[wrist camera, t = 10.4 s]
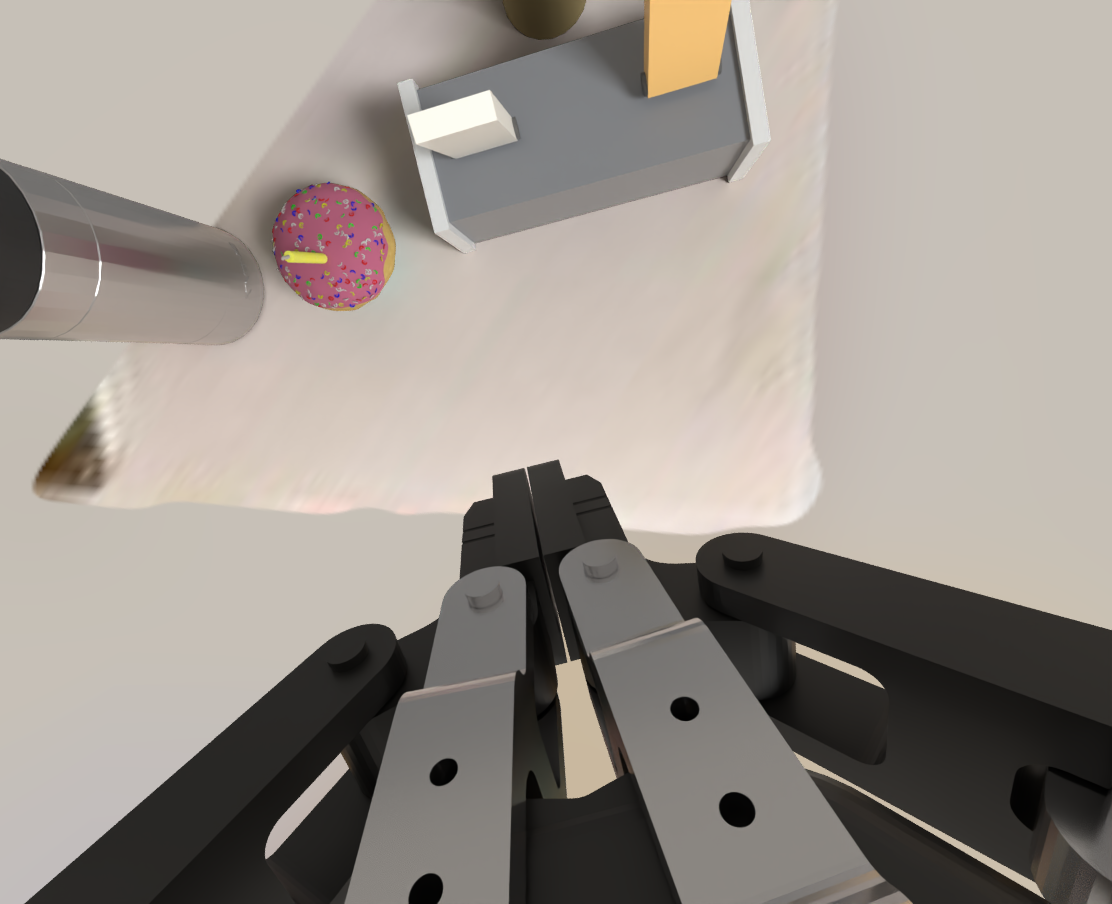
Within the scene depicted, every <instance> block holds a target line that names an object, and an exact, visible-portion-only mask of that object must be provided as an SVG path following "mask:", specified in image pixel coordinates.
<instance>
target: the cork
mask: <svg viewBox="0 0 1112 904" xmlns="http://www.w3.org/2000/svg"><path fill="white" fill-rule="evenodd" d="M585 3H586V0H503V5H504V8H505V11H506V14H507V17H508V18H509V20H510V21H511V23H512V24H513V25H514V27H515V28H516V29H517V30H519V31H520V32H521V33H523V34H524V35H525V36H527V37H531V38H535V39H538V40H542V39H553V38H555V37H557V36H559V35H561V34H564V33H565V32H567V31H568V30H569V29H570V28H571V27H572V26H573V25H574V24H575V23H576V22H577V20H578V18H579V17H580V15H581V13H582V12H583V10H584V6H585Z"/></svg>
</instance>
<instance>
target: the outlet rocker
mask: <svg viewBox="0 0 1112 904" xmlns="http://www.w3.org/2000/svg"><path fill="white" fill-rule="evenodd" d="M731 1H732V0H644V72H642V73H640V80H641V88H642V93H643V96H644V97H646V96H647V97H648V98H651V97H655V96H658V95H661V94H665V93H668V92H672V91H675V90H678V89H682V88H685V87H689V86H692V85H695V84H699V83H702V82H706V81H709V80H712V79H716V78H717V75H720V74H721V72H722V58H721V54H722V49H723V44H724V38H725V33H726V28H727V22H728V17H729V12H730V6H731Z"/></svg>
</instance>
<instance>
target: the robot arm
mask: <svg viewBox="0 0 1112 904" xmlns="http://www.w3.org/2000/svg"><path fill="white" fill-rule="evenodd" d="M263 299H264V285H263V280H262V275H261V272H260V269H259V267H258V264H257V262H256V260H255V258H254V257H253V255H252V254H251V252H250V251H249V249H248V248H247V247H246V246H245V245H244V244H243V243H242V242H241V241H240V240H238V239H237V238H236V237H234V236H233V235H231V234H230V233H227V232H225V231H223V230H220V229H217V228H214V227H211V226H208V225H205V224H202V223H199V222H196V221H193V220H190V219H186V218H184V217H181V216H178V215H175V214H171V213H169V212H165V211H162V210H159V209H156V208H153V207H150V206H146V205H144V204H140V203H137V202H134V201H131V200H128V199H124V198H122V197H118V196H115V195H112V194H109V193H106V192H103V191H100V190H97V189H94V188H90V187H87V186H84V185H81V184H78V183H75V182H72V181H68V180H65V179H62V178H59V177H56V176H53V175H50V174H47V173H44V172H40V171H37V170H34V169H31V168H28V167H24V166H21V165H18V164H15V163H11V162H9V161H5V160H2V159H0V339H19V340H65V341H66V340H67V341H100V342H136V343H172V344H202V345H223V344H227V343H231V342H234V341H236V340H237V339H239V338H241V337H243V336H244V335H245V334H246V333H247V332H248V331H250V330H251V328H252V327H253V325H254V324H255V323H256V321H257V319H258V317H259V314H260V312H261V309H262V304H263ZM527 470H528V476H529V481H530V486H531V490H530V487H529V483H528V479H527V475H526V472H525V469H524V468H522V469H518V470H514V471H510V472H506V473H502V474H498V475H494V476H492V479H493V498H490V499H486V500H482V501H478V502H474V503H473V505H472V506H471V507H470V509H469V510H468V512H467V513H466V514H465V516H464V522H463V538H462V543H463V545H462V551H461V568H460V580H458V581H457V582H456V583H455V584H453V585H452V586H451V588H450V589H449V590H448V591H447V593H446V594H445V596H444V599H443V602H442V606H441V611H440V615H439V618H438V619H437V620H435V621H434V622H432V623H431V624H429V625H427V626H425V627H424V628H422V629H420V630H418V631H416V632H413V633H411V634H409V635H407V636H405V637H403V638H401V639H399V640H397V639H396V636H395V634H394V633H393V631H392V630H391V629H390V628H389V627H386V626H384V625H380V624H366V625H361V626H357V627H354V628H351V629H348V630H346V631H344V632H342V633H340V634H338V635H336V636H335V637H333V638H331V639H330V640H328V641H327V642H326V643H325V644H323V645H322V646H321V647H320V648H319V649H317V650H316V651H315V652H314V653H313V654H312V655H310V656H309V657H308V658H307V659H306V660H305V661H304V662H302V663H301V664H300V665H299V666H298V667H297V668H295V669H294V670H293V671H292V672H291V673H290V674H289V675H287V676H286V677H285V678H284V679H283V680H282V681H280V682H279V683H278V684H277V685H276V686H275V687H274V688H272V689H271V690H270V691H269V692H268V693H267V694H265V695H264V696H263V697H262V698H261V699H260V700H259V701H258V702H256V703H255V704H254V705H253V706H252V707H250V708H249V709H248V710H247V711H246V712H245V713H244V714H242V715H241V716H240V717H239V718H238V719H237V720H235V721H234V722H233V723H232V724H231V725H230V726H229V727H228V728H226V729H225V730H224V731H223V732H222V733H221V734H219V735H218V736H217V737H216V738H215V739H214V740H213V741H211V743H209V744H208V745H207V746H206V747H204V748H203V749H202V750H201V751H200V752H199V753H198V754H196V755H195V756H194V757H193V758H192V759H191V760H190V761H188V762H187V763H186V764H185V765H184V766H182V767H181V768H180V769H179V770H178V771H177V772H176V773H174V774H173V775H172V776H171V777H170V778H169V779H168V780H166V781H165V782H164V783H163V784H162V785H161V786H160V787H158V788H157V789H156V790H155V791H154V792H153V793H151V794H150V795H149V796H148V797H147V798H146V799H144V800H143V801H142V802H141V803H140V804H139V805H138V806H137V807H135V808H134V809H133V810H132V811H131V812H129V813H128V814H127V815H126V816H125V817H124V818H123V819H122V820H120V821H119V822H118V823H117V824H116V825H114V826H113V827H112V828H111V829H110V830H109V831H108V832H106V833H105V834H104V835H103V836H102V837H101V838H99V839H98V840H97V841H96V842H95V843H94V844H93V845H91V846H90V847H89V848H88V849H87V850H86V851H85V852H84V853H82V854H81V855H80V856H79V857H78V858H76V859H75V861H73V862H72V863H71V864H70V865H68V866H67V867H66V868H65V869H64V870H63V871H61V873H59V874H58V875H57V876H56V877H55V878H53V880H51V881H50V882H49V883H48V884H46V885H45V886H44V887H43V888H42V889H41V890H40V891H38V892H37V893H36V894H35V895H34V896H33V897H32V898H30V899H29V900H28V901H27V902H26V903H25V904H1112V630H1109V629H1105V628H1102V627H1098V626H1094V625H1091V624H1087V623H1083V622H1080V621H1076V620H1072V619H1069V618H1064V617H1061V616H1057V615H1053V614H1050V613H1046V612H1042V611H1039V610H1036V609H1032V608H1028V607H1024V606H1021V605H1017V604H1014V603H1010V602H1006V601H1003V600H999V599H995V598H991V597H988V596H984V595H980V594H977V593H973V592H969V591H965V590H962V589H958V588H955V587H951V586H947V585H944V584H940V583H936V582H932V581H929V580H925V579H921V578H918V577H914V576H911V575H907V574H903V573H900V572H896V571H892V570H889V569H885V568H881V567H878V566H874V565H870V564H866V563H863V562H859V561H856V560H852V559H848V558H845V557H841V556H837V555H834V554H830V553H826V552H823V551H819V550H815V549H811V548H808V547H804V546H801V545H797V544H793V543H789V542H786V541H782V540H779V539H775V538H771V537H768V536H764V535H760V534H754V533H732V534H726V535H722V536H719V537H716V538H714V539H712V540H710V541H708V542H707V543H705V544H704V545H703V546H702V547H701V548H700V549H699V551H698V553H697V555H696V563H685V564H667V563H659V562H654V561H651V560H648V559H645V558H644V556H643V555H642V553H641V552H640V550H639V549H638V548H637V547H635V546H634V545H633V544H631V543H628V541H627V538H626V537H625V534H624V532H623V530H622V528H621V525H620V523H619V521H618V519H617V517H616V515H615V512H614V510H613V508H612V507H611V504H610V502H609V499H608V497H607V496H606V493H605V491H604V489H603V486H602V484H601V483H600V482H599V481H597V480H595V479H593V478H592V477H590V476H588V475H583V476H579V477H575V478H571V479H567V480H565V478H564V475H563V472H562V469H561V466H560V463H559V460H555V461H550V462H546V463H542V464H538V465H534V466H530V467H527ZM531 492H532V494H531ZM532 497H533V498H532ZM557 610H558V612H557ZM558 614H559V617H558ZM559 618H560V621H561V625H562V629H563V633H564V637H565V640H566V644H567V648H568V652H569V656H570V660H571V661H574V660H577V659H581V663H582V667H583V671H584V674H585V678H586V682H587V686H588V690H589V694H590V698H591V701H592V704H593V707H594V710H595V713H596V716H597V720H598V723H599V726H600V729H601V732H602V735H603V738H604V741H605V744H606V747H607V750H608V753H609V756H610V759H611V762H612V765H613V768H614V772H615V774H616V778H617V779H616V780H614V781H612V782H610V783H608V784H607V785H605V786H603V787H601V788H600V789H598V790H596V791H594V792H593V793H591V794H589V795H587V796H584V797H580V798H573V799H567V791H566V778H565V763H564V750H563V749H564V748H563V734H562V720H561V707H560V700H559V697H558V693H557V687H558V680H557V674H556V668H555V665H559V664H563V663H567V658H566V653H565V648H564V642H563V638H562V632H561V627H560V623H559ZM795 642H796V643H799V644H801V645H804V646H807V647H809V648H812V649H814V650H817V651H819V652H821V653H824V654H826V655H829V656H832V657H834V658H836V659H839V660H841V661H844V662H846V663H849V664H851V665H854V666H857V667H859V668H861V669H863V670H865V671H866V672H868V673H870V674H871V675H872V676H874V677H875V678H876V679H877V680H878V681H879V682H880V683H881V684H882V685H883V687H884V688H885V689H883V688H881V687H878V686H876V685H873V684H871V683H869V682H866V681H864V680H861V679H859V678H856V677H854V676H852V675H849V674H847V673H844V672H842V671H839V670H837V669H835V668H832V667H830V666H827V665H825V664H823V663H820V662H817V661H815V660H813V659H810V658H808V657H806V656H803V655H801V654H798V653H796V646H795V645H796V644H795ZM793 751H794V752H796V753H797V754H799V755H801V756H803V757H805V758H807V759H808V760H810V761H812V762H814V763H816V764H818V765H819V766H822V767H823V768H825V769H827V770H829V771H831V772H832V773H834V774H836V775H838V776H840V777H842V778H844V779H846V780H847V781H849V782H851V783H853V784H855V785H856V786H858V787H860V788H862V789H864V790H866V791H867V792H870V793H871V794H873V795H875V796H877V797H879V798H880V799H882V800H884V801H886V802H888V803H890V804H891V805H893V806H895V807H897V808H899V809H901V810H903V811H904V812H906V813H908V814H910V815H912V816H914V817H916V818H917V819H919V820H921V821H923V822H925V823H927V824H928V825H930V826H932V827H934V828H936V829H938V830H939V831H942V832H943V833H945V834H947V835H949V836H951V837H952V838H954V839H956V840H958V841H960V842H962V843H963V844H965V845H967V846H969V847H971V848H973V849H975V850H976V851H978V852H980V853H982V854H984V855H986V856H987V857H989V858H991V859H993V860H995V861H997V862H998V863H1000V864H1002V865H1004V866H1006V867H1008V868H1010V869H1012V870H1013V871H1015V872H1017V873H1019V874H1021V875H1023V876H1024V877H1026V878H1028V879H1030V880H1032V881H1034V882H1035V883H1036V884H1037V886H1038V888H1039V890H1040V892H1041V894H1042V895H1043V897H1044V898H1045V899H1044V898H1042V897H1040V896H1038V895H1037V894H1035V893H1033V892H1032V891H1030V890H1028V889H1026V888H1024V887H1023V886H1021V885H1020V884H1018V883H1016V882H1014V881H1012V880H1011V879H1009V878H1008V877H1006V876H1004V875H1002V874H1001V873H999V872H997V871H995V870H994V869H992V868H990V867H989V866H987V865H985V864H983V863H981V862H980V861H978V860H977V859H975V858H973V857H971V856H970V855H968V854H966V853H965V852H963V851H961V850H959V849H958V848H956V847H954V846H953V845H951V844H949V843H947V842H945V841H944V840H942V839H940V838H939V837H937V836H935V835H934V834H932V833H930V832H928V831H926V830H925V829H923V828H922V827H920V826H918V825H916V824H915V823H913V822H911V821H909V820H907V819H906V818H904V817H903V816H901V815H899V814H898V813H896V812H894V811H892V810H891V809H889V808H887V807H885V806H884V805H882V804H880V803H878V802H877V801H875V800H873V799H872V798H870V797H868V796H867V795H865V794H863V793H861V792H859V791H858V790H856V789H854V788H852V787H850V786H848V785H846V784H844V783H841V782H839V781H837V780H835V779H832V778H830V777H828V776H825V775H822V774H819V773H816V772H813V771H811V770H807V769H804V767H803V766H802V764H801V763H800V761H799V760H798V758H797V757H796V755H795V754H794V752H793ZM340 753H341V754H342V756H343V758H344V760H345V761H346V763H347V765H348V767H349V769H348V771H347V772H346V773H345V774H344V775H343V776H342V777H341V778H340V780H339V781H338V782H337V783H336V784H335V785H334V786H333V787H332V789H331V790H330V791H329V792H328V793H327V794H326V795H325V797H324V798H323V799H322V800H321V801H320V802H319V803H318V804H317V806H316V807H315V808H314V809H313V810H312V811H311V812H310V813H309V815H308V816H307V817H306V818H305V819H304V820H303V821H302V822H301V824H300V825H299V826H298V827H297V828H296V829H295V830H294V831H293V832H292V834H291V835H290V836H289V837H288V838H287V839H286V840H285V841H284V843H283V844H282V845H281V846H280V847H279V848H278V849H277V851H276V852H274V854H273V855H271V856H270V857H269V858H268V859H265V847H266V843H267V840H268V837H269V835H270V832H271V831H272V829H273V827H274V826H275V824H276V823H277V821H278V820H279V819H280V818H281V816H282V815H283V814H284V813H285V812H286V811H287V810H288V808H290V807H291V805H292V804H293V803H294V802H295V801H296V800H297V799H298V798H299V797H300V796H301V794H302V793H303V792H304V791H305V790H306V789H307V788H308V787H309V786H310V785H311V784H312V783H313V782H314V781H315V780H316V778H317V777H318V776H319V775H320V774H321V773H322V772H323V771H324V770H325V769H326V768H327V766H329V764H330V763H331V762H332V761H333V760H334V759H335V758H336V757H337V756H338V755H339V754H340Z"/></svg>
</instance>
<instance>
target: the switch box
mask: <svg viewBox="0 0 1112 904" xmlns="http://www.w3.org/2000/svg"><path fill="white" fill-rule="evenodd" d="M721 58H722V72H721V74H720V75H717V78H716V79H712V80H709V81H706V82H702V83H699V84H695V85H692V86H689V87H685V88H682V89H678V90H675V91H672V92H668V93H665V94H661V95H658V96H655V97H651V98H648V97H647V96H646V97H644V96H643V93H642V88H641V80H640V73H642V72H644V19H641V20H638V21H634V22H631V23H628V24H625V25H622V26H619V27H615V28H612V29H609V30H606V31H603V32H600V33H596V34H593V35H590V36H587V37H584V38H580V39H577V40H574V41H571V42H568V43H565V44H561V45H558V46H555V47H552V48H549V49H546V50H542V51H539V52H536V53H533V54H530V55H526V56H523V57H520V58H517V59H514V60H511V61H507V62H504V63H501V64H498V65H495V66H492V67H488V68H485V69H482V70H479V71H476V72H472V73H469V74H466V75H463V76H460V77H457V78H453V79H450V80H447V81H444V82H441V83H438V84H434V85H431V86H428V87H425V88H422V89H420V88H419V87H418V85H417V84H416V83H415V81H414V80H413V79H412V78H411V79H408V80H405V81H402V82H399V83H397V85H398V89H399V93H400V97H401V101H402V105H403V109H404V113H405V117H406V121H407V125H408V129H409V133H410V137H411V141H412V145H413V149H414V153H415V157H416V161H417V165H418V169H419V173H420V177H421V181H422V185H423V189H424V193H425V197H426V201H427V205H428V209H429V213H430V217H431V221H432V225H433V229H434V233H435V234H437V235H438V236H439V237H441V238H442V239H444V240H445V241H447V242H448V243H450V244H451V245H452V246H454V247H455V248H457V249H458V250H460V251H461V252H463V253H468V252H471V251H475V250H476V247H475V243H478V242H482V241H486V240H490V239H493V238H497V237H501V236H504V235H508V234H512V233H516V232H519V231H523V230H527V229H531V228H534V227H538V226H542V225H545V224H549V223H553V222H557V221H560V220H564V219H568V218H571V217H575V216H579V215H583V214H586V213H590V212H594V211H597V210H601V209H605V208H609V207H612V206H616V205H620V204H624V203H627V202H631V201H635V200H638V199H642V198H646V197H650V196H653V195H657V194H661V193H664V192H668V191H672V190H676V189H679V188H683V187H687V186H690V185H694V184H698V183H702V182H705V181H709V180H713V179H717V178H720V177H724V176H727V177H728V183H730V182H734V181H737V180H741V179H743V178H744V177H745V175H746V174H747V173H748V171H749V170H750V168H751V167H752V166H753V164H754V163H755V162H756V160H757V159H758V158H759V156H760V155H761V154H762V152H763V151H764V150H765V148H766V147H767V145H768V144H769V143H770V141H771V137H770V131H769V124H768V118H767V111H766V105H765V99H764V92H763V86H762V79H761V73H760V66H759V60H758V53H757V47H756V40H755V34H754V27H753V21H752V14H751V8H750V1H749V0H732V1H731V6H730V12H729V17H728V22H727V28H726V33H725V38H724V44H723V49H722V54H721ZM488 90H490V91H491V92H492V93H493V95H494V96H495V97H496V98H497V100H498V101H499V102H500V103H501V105H502V106H503V107H504V108H505V110H506V111H507V112H508V113H509V115H510V116H511V117H515V118H516V121H517V124H518V128H519V132H520V138H521V139H519V140H518V141H515V142H512V143H508V144H505V145H502V146H498V147H495V148H491V149H488V150H485V151H481V152H478V153H474V154H471V155H468V156H464V157H461V158H457V159H455V158H454V159H451V158H450V156H447V155H444V154H441V153H439V152H436V151H433V150H430V149H428V148H425V147H422V146H419V145H417V144H416V143H415V139H414V136H413V133H412V130H411V126H410V123H409V120H408V117H407V115H410V114H413V113H416V112H420V111H423V110H426V109H429V108H433V107H436V106H439V105H442V104H445V103H449V102H452V101H455V100H458V99H462V98H465V97H468V96H471V95H475V94H478V93H481V92H484V91H488Z"/></svg>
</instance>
